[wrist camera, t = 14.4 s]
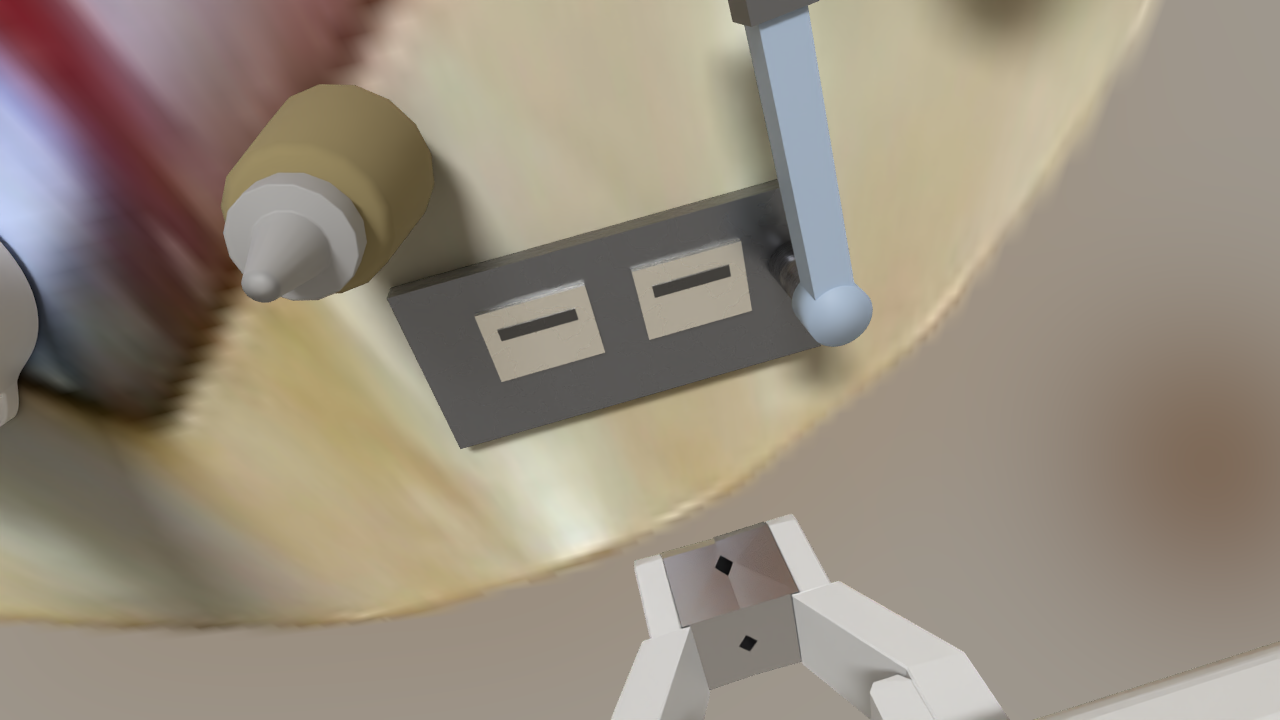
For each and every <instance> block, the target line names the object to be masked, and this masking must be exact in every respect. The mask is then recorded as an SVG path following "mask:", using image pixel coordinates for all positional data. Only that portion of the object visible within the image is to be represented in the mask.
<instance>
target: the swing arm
mask: <svg viewBox="0 0 1280 720" xmlns="http://www.w3.org/2000/svg"><path fill="white" fill-rule="evenodd" d="M817 1H819V0H728V3H729V7H730V12H731V16H732V20H733V22H735V23H739V24H742V25H744V26H745V30H746V35H747V40H748V44H749V49H750V53H751V58H752V63H753V67H754V72H755V76H756V81H757V86H758V90H759V95H760V99H761V104H762V109H763V113H764V118H765V122H766V127H767V132H768V136H769V141H770V146H771V150H772V155H773V159H774V164H775V169H776V173H777V178H778V182H779V187H780V192H781V196H782V201H783V205H784V210H785V215H786V219H787V224H788V228H789V233H790V238H791V242H792V247H793V251H794V256H795V261H796V265H797V270H798V274H799V279H800V283H799V284H798V285H797V287H796V289H795V291H794V293H793V297H792V308H793V311H794V313H795V315H796V317H797V318H798V319H799V320H800V322H801V323H802V324H803V325H804V327H805V328H806V329H807V330H808V332H809V333H810V334H811V335H812V337H813V338H814V339H815V340H816V341H817V342H819V343H820V344H822V345H825V346H832V347H835V346H842V345H845V344H847V343H850V342H851V341H853V340H855V339H856V338H858V337H859V336H860V335H861V334H862V333H863V332H864V331H865V329H866V328H867V326H868V325H869V323H870V320H871V317H872V310H873V309H872V303H871V300H870V298H869V297H868V295H867V294H866V293H865V292H864V291H863V290H862V289H861V288H859V287H858V286H857V285H856V284H855V283H854V280H853V274H852V268H851V262H850V256H849V250H848V244H847V238H846V232H845V226H844V220H843V214H842V208H841V202H840V196H839V190H838V184H837V178H836V172H835V166H834V160H833V154H832V148H831V142H830V136H829V130H828V124H827V118H826V112H825V106H824V100H823V94H822V88H821V82H820V76H819V70H818V64H817V58H816V52H815V46H814V40H813V34H812V28H811V22H810V16H809V10H808V5H810V4H812V3H815V2H817Z"/></svg>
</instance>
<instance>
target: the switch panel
mask: <svg viewBox="0 0 1280 720" xmlns="http://www.w3.org/2000/svg"><path fill="white" fill-rule="evenodd" d="M799 283H800V279H799V274H798V270H797V265H796V261H795V256H794V251H793V247H792V242H791V238H790V233H789V228H788V224H787V219H786V215H785V210H784V205H783V201H782V196H781V192H780V187H779V182H778V179H776V180H773V181H769V182H766V183H762V184H759V185H755V186H752V187H748V188H744V189H741V190H737V191H734V192H730V193H727V194H723V195H720V196H716V197H712V198H709V199H705V200H702V201H698V202H695V203H691V204H688V205H684V206H680V207H677V208H673V209H670V210H666V211H663V212H659V213H656V214H652V215H648V216H645V217H641V218H638V219H634V220H631V221H627V222H624V223H620V224H616V225H613V226H609V227H606V228H602V229H599V230H595V231H592V232H588V233H585V234H581V235H577V236H574V237H570V238H567V239H563V240H560V241H556V242H553V243H549V244H545V245H542V246H538V247H535V248H531V249H528V250H524V251H521V252H517V253H513V254H510V255H506V256H503V257H499V258H496V259H492V260H489V261H485V262H481V263H478V264H474V265H471V266H467V267H464V268H460V269H457V270H453V271H449V272H446V273H442V274H439V275H435V276H432V277H428V278H425V279H421V280H417V281H414V282H410V283H407V284H403V285H400V286H396V287H393V288H391V289H390V291H389V294H388V297H387V300H388V302H389V304H390V306H391V308H392V310H393V312H394V314H395V316H396V318H397V320H398V322H399V324H400V326H401V328H402V330H403V333H404V335H405V337H406V339H407V341H408V343H409V345H410V347H411V349H412V351H413V353H414V355H415V357H416V359H417V361H418V363H419V365H420V367H421V369H422V371H423V373H424V375H425V377H426V380H427V382H428V384H429V386H430V388H431V390H432V392H433V394H434V396H435V398H436V400H437V402H438V404H439V406H440V408H441V410H442V412H443V414H444V416H445V418H446V420H447V422H448V424H449V427H450V429H451V431H452V433H453V435H454V437H455V439H456V441H457V443H458V445H459V447H460V449H462V448H466V447H469V446H473V445H476V444H480V443H483V442H487V441H490V440H494V439H497V438H501V437H504V436H508V435H511V434H515V433H518V432H522V431H525V430H529V429H532V428H536V427H539V426H543V425H546V424H550V423H553V422H556V421H560V420H563V419H567V418H570V417H574V416H577V415H581V414H584V413H588V412H591V411H595V410H598V409H602V408H605V407H609V406H612V405H616V404H619V403H623V402H626V401H630V400H633V399H637V398H640V397H644V396H647V395H651V394H654V393H658V392H661V391H665V390H668V389H672V388H675V387H679V386H682V385H686V384H689V383H692V382H696V381H699V380H703V379H706V378H710V377H713V376H717V375H720V374H724V373H727V372H731V371H734V370H738V369H741V368H745V367H748V366H752V365H755V364H759V363H762V362H766V361H769V360H773V359H776V358H780V357H783V356H787V355H790V354H794V353H797V352H801V351H804V350H808V349H811V348H815V347H818V346H821V344H820V343H819V342H817V341H816V340H815V339H814V338H813V337H812V335H811V334H810V333H809V332H808V330H807V329H806V328H805V327H804V325H803V324H802V323H801V322H800V320H799V319H798V318H797V317H796V315H795V313H794V311H793V308H792V297H793V293H794V291H795V289H796V287H797V285H798V284H799Z"/></svg>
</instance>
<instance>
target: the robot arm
mask: <svg viewBox="0 0 1280 720" xmlns="http://www.w3.org/2000/svg"><path fill="white" fill-rule="evenodd" d="M37 336H38V312H37V307H36V302H35V299H34V295H33V293H32V290H31V288H30V285H29V283H28V281H27V279H26V277H25V275H24V274H23V272H22V270H21V268H20V267H19V265H18V264H17V262H16V261H15V259H14V258H13V257H12V255H11V254H10V253H9V251H8V250H7V249H6V248H5V247H4V245H3V244H2V243H1V242H0V426H2V425H4V424H5V423H6V422H8V421H9V420H11V419H12V418H14V417H15V416H16V414H17V412H18V407H19V396H18V385H17V380H18V377H19V374H20V372H21V370H22V369H23V367H24V365H25V364H26V362H27V361H28V359H29V357H30V356H31V354H32V352H33V350H34V347H35V344H36V340H37ZM661 554H662V556H661ZM661 554H657V555H653V556H649V557H646V558H642V559H639V560H635V561H634V570H635V574H636V578H637V583H638V587H639V592H640V596H641V601H642V605H643V609H644V614H645V619H646V623H647V627H648V632H649V636H650V639H647V640H644V641H642V643H641V645H640V648H639V650H638V653H637V655H636V658H635V661H634V663H633V665H632V668H631V670H630V673H629V675H628V678H627V680H626V683H625V685H624V688H623V690H622V693H621V695H620V698H619V700H618V703H617V705H616V708H615V711H614V713H613V715H612V718H611V720H704V718H705V713H706V709H707V705H708V701H709V696H710V691H709V690H712V689H715V688H718V687H721V686H724V685H726V684H729V683H732V682H735V681H738V680H741V679H744V678H747V677H750V676H753V675H755V674H760V673H763V672H767V671H770V670H774V669H777V668H781V667H784V666H788V665H792V664H795V663H798V662H802V664H803V665H804V666H806V667H807V668H808V669H809V670H811V671H812V672H813V673H814V674H815V675H817V676H818V677H819V678H820V679H821V680H823V681H824V682H825V683H826V684H828V685H829V686H830V687H831V688H832V689H834V690H835V691H836V692H837V693H839V694H840V695H841V696H842V697H844V698H845V699H846V700H847V701H849V702H850V703H851V704H852V705H853V706H855V707H856V708H857V709H858V710H860V711H861V712H862V713H863V714H864V715H866V716H867V717H868V718H869V719H871V720H1010V719H1009V718H1008V716H1007V715H1006V713H1005V712H1004V711H1003V709H1002V707H1001V706H1000V704H999V703H998V702H997V700H996V699H995V697H994V696H993V694H992V693H991V691H990V690H989V688H988V687H987V685H986V684H985V682H984V681H983V679H982V678H981V676H980V675H979V674H978V672H977V671H976V669H975V668H974V666H973V665H972V663H971V662H970V660H969V659H968V657H967V656H966V654H965V653H964V652H963V651H961V650H959V649H958V648H956V647H954V646H952V645H951V644H949V643H947V642H945V641H944V640H942V639H940V638H938V637H937V636H935V635H933V634H932V633H930V632H928V631H926V630H925V629H923V628H921V627H919V626H918V625H916V624H914V623H912V622H911V621H909V620H907V619H905V618H904V617H902V616H900V615H898V614H897V613H895V612H893V611H891V610H890V609H888V608H886V607H884V606H883V605H881V604H879V603H877V602H876V601H874V600H872V599H870V598H869V597H867V596H865V595H864V594H862V593H860V592H858V591H857V590H854V589H853V588H851V587H850V586H848V585H846V584H844V583H843V582H840V581H836V582H832V583H831V581H830V580H829V578H828V576H827V574H826V572H825V570H824V569H823V567H822V565H821V563H820V561H819V559H818V558H817V556H816V554H815V552H814V550H813V549H812V546H811V545H810V543H809V541H808V539H807V537H806V536H805V534H804V532H803V530H802V528H801V526H800V524H799V523H798V521H797V519H796V517H795V516H794V515H792V514H789V515H785V516H782V517H779V518H776V519H772V520H769V521H766V522H765V523H764V522H761V523H758V524H755V525H752V526H749V527H745V528H742V529H739V530H736V531H733V532H730V533H726V534H724V535H720V536H717V537H714V538H713V539H710V540H706V541H702V542H699V543H695V544H691V545H688V546H684V547H681V548H677V549H673V550H670V551H666V552H662V553H661ZM662 558H663V559H662ZM664 565H665V566H664ZM1035 720H1280V641H1278V642H1275V643H1272V644H1269V645H1266V646H1262V647H1259V648H1256V649H1253V650H1250V651H1247V652H1244V653H1241V654H1238V655H1235V656H1232V657H1228V658H1225V659H1222V660H1219V661H1216V662H1212V663H1209V664H1206V665H1203V666H1200V667H1197V668H1194V669H1191V670H1188V671H1184V672H1182V673H1178V674H1175V675H1172V676H1169V677H1166V678H1162V679H1159V680H1156V681H1153V682H1150V683H1147V684H1144V685H1141V686H1137V687H1134V688H1132V689H1128V690H1125V691H1122V692H1119V693H1116V694H1112V695H1109V696H1106V697H1103V698H1100V699H1097V700H1094V701H1091V702H1088V703H1084V704H1081V705H1078V706H1075V707H1072V708H1069V709H1066V710H1063V711H1059V712H1056V713H1053V714H1050V715H1047V716H1044V717H1041V718H1038V719H1035Z"/></svg>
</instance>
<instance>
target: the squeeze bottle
mask: <svg viewBox="0 0 1280 720" xmlns="http://www.w3.org/2000/svg"><path fill="white" fill-rule="evenodd" d="M433 187H434V177H433V167H432V157H431V153H430V151H429V149H428V147H427V145H426V143H425V141H424V139H423V137H422V135H421V134H420V132H419V130H418V128H417V126H416V124H415V123H414V122H413V121H412V120H411V119H410V118H408V117H407V116H406V115H405V114H404V113H403V112H402V111H401V110H400V109H399V108H398V107H396V106H395V105H394V104H393V103H392V102H391V101H390V100H389V99H386V98H384V97H382V96H379V95H377V94H374V93H372V92H370V91H367V90H365V89H363V88H360V87H358V86H356V85H326V84H320V85H317V86H315V87H312V88H310V89H308V90H305V91H303V92H300V93H298V94H296V95H293V96H291V97H289V98H288V100H287V101H286V102H285V103H284V104H283V106H282V107H281V108H280V109H279V110H278V112H277V113H276V114H275V115H274V116H273V118H272V119H271V120H270V121H269V122H268V124H267V125H266V126H265V128H264V129H263V130H262V131H261V133H260V134H259V135H258V137H257V138H256V139H255V141H254V142H253V143H252V144H251V146H250V147H249V148H248V150H247V151H246V152H245V153H244V155H243V156H242V157H241V159H240V160H239V161H238V162H237V164H236V165H235V166H234V168H233V169H232V170H231V171H230V173H229V174H228V175H227V177H226V182H225V187H224V192H223V198H222V203H221V209H222V212H223V216H224V220H225V227H224V232H223V234H224V238H225V241H226V245H227V249H228V252H229V256H230V258H231V259H232V260H233V262H234V263H235V264H236V266H237V267H238V268H239V270H240V271H241V272H242V274H243V278H242V283H241V284H242V288H243V290H244V292H245V293H246V294H247V296H249V297H250V298H252V299H253V300H255V301H258V302H271V301H274V300H276V299H278V298H279V297H283V298H286V299H290V300H293V301H294V300H319V299H322V298H324V297H327V296H329V295H332V294H334V293H343V292H345V291H348V290H350V289H353V288H355V287H358V286H360V285H363V284H365V283H368V282H369V281H370V280H371V279H372V278H373V277H374V276H375V275H376V274H377V273H378V272H379V271H380V269H381V268H382V267H383V266H384V265H385V264H386V263H387V262H388V261H389V259H390V258H391V257H392V255H393V254H394V253H395V252H396V250H397V249H398V248H399V246H400V245H401V244H402V242H403V241H404V240H405V238H406V237H407V236H408V234H409V233H410V232H411V230H412V229H413V228H414V226H415V225H416V224H417V222H418V221H419V220H420V218H421V217H422V216H423V214H424V213H425V212H426V208H427V205H428V202H429V199H430V196H431V193H432V190H433Z"/></svg>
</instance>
